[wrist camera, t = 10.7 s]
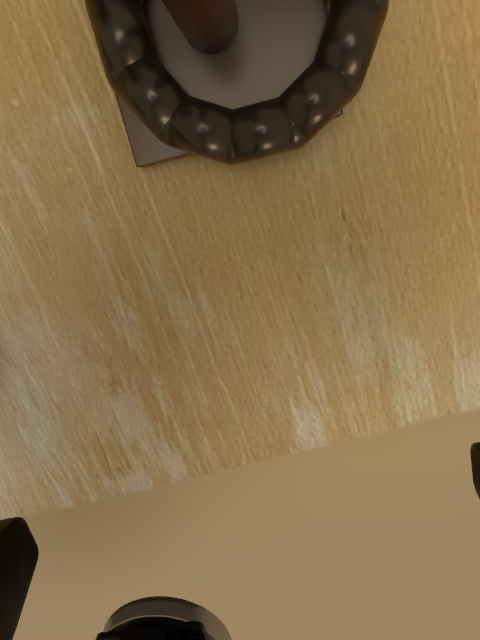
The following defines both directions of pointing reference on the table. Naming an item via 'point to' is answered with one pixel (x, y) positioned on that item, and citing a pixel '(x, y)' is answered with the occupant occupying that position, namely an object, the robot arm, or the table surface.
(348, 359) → the table surface
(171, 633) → the robot arm
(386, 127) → the table surface
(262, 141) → the studded brown bangle
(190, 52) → the rack
